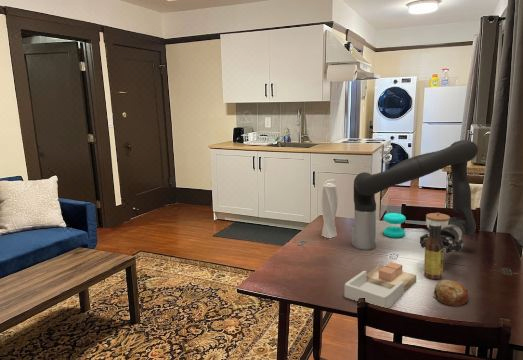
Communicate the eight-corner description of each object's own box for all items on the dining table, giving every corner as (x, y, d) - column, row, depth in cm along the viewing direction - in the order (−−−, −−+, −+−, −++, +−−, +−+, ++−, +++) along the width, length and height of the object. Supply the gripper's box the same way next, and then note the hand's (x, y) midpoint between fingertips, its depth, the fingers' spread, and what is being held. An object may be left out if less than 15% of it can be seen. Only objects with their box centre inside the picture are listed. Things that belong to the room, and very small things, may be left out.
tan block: (384, 273, 140) (385, 265, 140) (390, 269, 144) (390, 261, 143) (396, 276, 137) (397, 269, 137) (402, 272, 141) (402, 264, 140)
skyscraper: (328, 233, 193) (328, 178, 187) (340, 236, 187) (341, 180, 182) (318, 237, 188) (318, 180, 182) (330, 240, 182) (330, 182, 177)
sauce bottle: (444, 280, 139) (447, 227, 135) (425, 279, 140) (428, 227, 136) (439, 272, 145) (442, 222, 141) (422, 272, 146) (424, 221, 143)
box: (343, 296, 130) (343, 284, 129) (363, 282, 140) (363, 270, 139) (384, 311, 120) (385, 298, 119) (403, 294, 130) (403, 282, 129)
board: (364, 282, 140) (364, 275, 139) (379, 271, 148) (379, 265, 148) (402, 294, 130) (402, 287, 130) (416, 281, 139) (416, 275, 138)
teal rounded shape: (381, 212, 190) (401, 212, 190) (380, 232, 192) (400, 231, 192) (387, 218, 180) (409, 218, 180) (386, 238, 182) (408, 238, 182)
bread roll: (432, 301, 132) (424, 282, 130) (459, 287, 132) (451, 268, 130) (448, 317, 122) (439, 297, 121) (477, 302, 122) (469, 282, 121)
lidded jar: (449, 228, 193) (450, 210, 191) (449, 235, 184) (450, 216, 182) (425, 226, 198) (426, 209, 196) (424, 233, 188) (425, 214, 186)
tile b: (378, 278, 137) (378, 270, 136) (384, 273, 140) (384, 266, 140) (390, 281, 134) (391, 273, 133) (396, 277, 137) (396, 269, 137)
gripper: (430, 223, 156) (415, 234, 144) (469, 230, 147) (456, 242, 135) (429, 241, 158) (414, 253, 146) (468, 249, 148) (454, 262, 136)
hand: (434, 248), depth 140 cm, fingers open, 8 cm apart
